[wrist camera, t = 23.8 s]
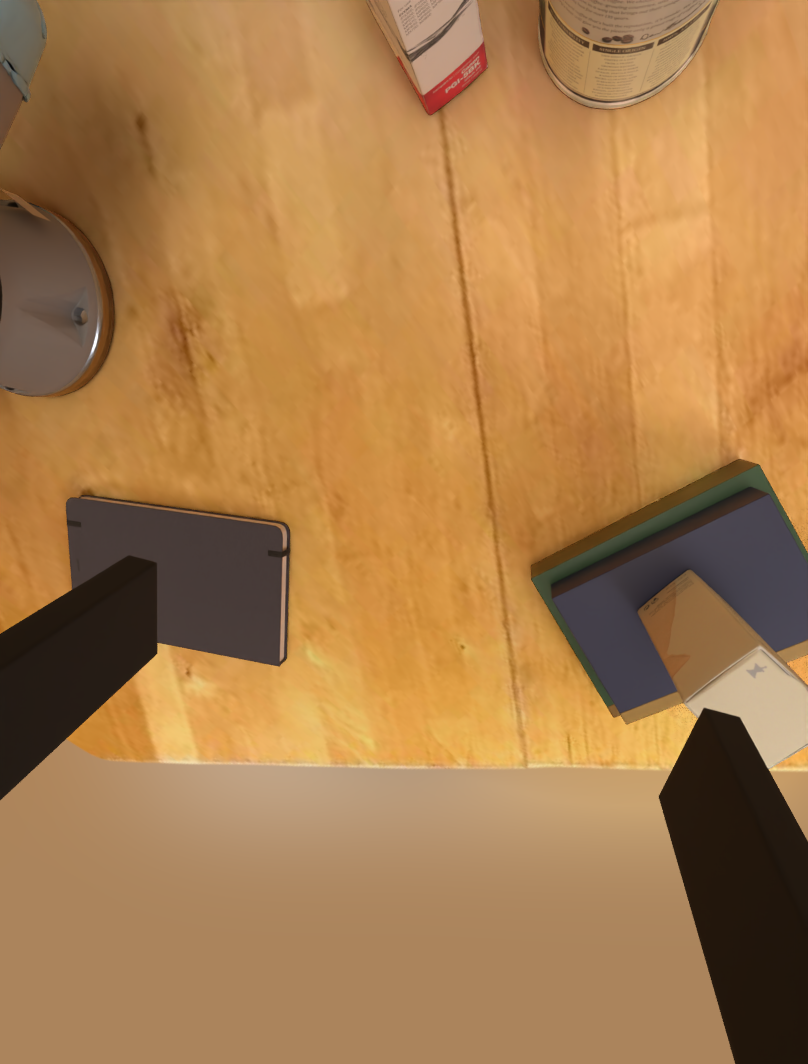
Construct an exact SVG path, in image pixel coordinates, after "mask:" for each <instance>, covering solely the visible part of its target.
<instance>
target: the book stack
mask: <svg viewBox="0 0 808 1064" xmlns="http://www.w3.org/2000/svg"><path fill="white" fill-rule="evenodd" d="M687 570H692V571H693V572H694V573H695V574H696V575H697V576H698V577H700V578H701V579H702V580H703V581H704V582H705V583H706V584H707V585H708V586H710V587H711V588H712V589H713V590H714V591H715V592H716V593H717V594H718V595H719V596H720V597H721V598H722V599H724V600H725V601H726V602H727V603H728V604H729V605H730V606H731V607H732V608H733V609H734V610H735V611H736V612H737V613H738V614H739V615H740V616H741V617H742V618H743V619H744V620H745V621H746V622H747V623H748V624H749V625H750V626H751V627H752V629H753V630H754V631H755V632H756V633H757V634H758V635H759V636H760V637H761V638H762V639H763V640H764V641H765V642H766V643H767V644H768V645H769V646H770V647H771V648H772V649H773V650H774V651H775V652H776V653H777V654H778V655H779V656H780V657H781V658H782V659H783V660H784V661H785V662H786V663H787V662H790V661H793V660H795V659H798V658H800V657H803V656H806V655H808V553H807V551H806V549H805V547H804V545H803V543H802V542H801V540H800V538H799V536H798V534H797V533H796V531H795V529H794V527H793V525H792V523H791V522H790V520H789V518H788V516H787V514H786V512H785V511H784V509H783V507H782V505H781V503H780V502H779V500H778V498H777V496H776V494H775V492H774V491H773V489H772V487H771V485H770V483H769V481H768V480H767V478H766V476H765V474H764V472H763V471H762V469H761V467H760V465H759V464H755V463H752V462H748V461H745V460H741V459H739V460H737V461H735V462H733V463H731V464H729V465H727V466H725V467H723V468H721V469H719V470H717V471H715V472H713V473H711V474H709V475H707V476H705V477H703V478H701V479H699V480H698V481H696V482H694V483H692V484H690V485H688V486H686V487H684V488H682V489H680V490H678V491H676V492H674V493H672V494H670V495H668V496H666V497H664V498H662V499H660V500H658V501H656V502H654V503H652V504H650V505H649V506H647V507H645V508H643V509H641V510H639V511H637V512H635V513H633V514H631V515H629V516H627V517H625V518H623V519H621V520H619V521H617V522H615V523H613V524H611V525H609V526H607V527H605V528H603V529H601V530H600V531H598V532H596V533H594V534H592V535H590V536H588V537H586V538H584V539H582V540H580V541H578V542H576V543H574V544H572V545H570V546H568V547H566V548H564V549H562V550H560V551H558V552H556V553H554V554H552V555H551V556H549V557H547V558H545V559H543V560H541V561H539V562H537V563H535V564H533V565H531V580H532V582H533V583H534V585H535V587H536V588H537V590H538V592H539V593H540V595H541V597H542V598H543V600H544V602H545V603H546V605H547V607H548V608H549V610H550V612H551V614H552V615H553V617H554V619H555V620H556V622H557V624H558V625H559V627H560V629H561V630H562V632H563V634H564V635H565V637H566V639H567V640H568V642H569V644H570V645H571V647H572V649H573V650H574V652H575V654H576V656H577V657H578V659H579V661H580V662H581V664H582V666H583V667H584V669H585V671H586V672H587V674H588V676H589V677H590V679H591V681H592V682H593V684H594V686H595V687H596V689H597V691H598V692H599V694H600V696H601V697H602V699H603V701H604V703H605V704H606V706H607V708H608V709H609V711H610V713H611V714H612V716H613V717H614V718H615V717H617V716H620V715H621V717H622V718H623V720H624V722H625V723H626V724H629V723H632V722H634V721H637V720H640V719H642V718H645V717H647V716H650V715H653V714H655V713H658V712H660V711H663V710H666V709H668V708H671V707H673V706H676V705H679V704H681V703H683V701H682V699H681V696H680V694H679V693H678V691H677V689H676V687H675V685H674V683H673V681H672V679H671V677H670V675H669V673H668V671H667V669H666V667H665V665H664V663H663V661H662V659H661V657H660V655H659V653H658V651H657V650H656V648H655V646H654V644H653V642H652V640H651V638H650V636H649V634H648V632H647V630H646V628H645V626H644V624H643V623H642V621H641V619H640V617H639V615H638V610H639V609H640V608H641V607H642V606H643V605H645V604H646V603H647V602H648V601H649V600H650V599H652V598H653V597H654V596H655V595H656V594H657V593H659V592H660V591H661V590H662V589H664V588H665V587H666V586H667V585H669V584H670V583H671V582H673V581H674V580H675V579H676V578H678V577H679V576H680V575H682V574H683V573H684V572H686V571H687Z"/></svg>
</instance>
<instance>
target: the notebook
mask: <svg viewBox="0 0 808 1064" xmlns="http://www.w3.org/2000/svg"><path fill="white" fill-rule="evenodd" d="M66 514H67V527H68V540H69V554H70V567H71V580H72V590H73V589H74V588H76V587H77V586H79V585H81V584H82V583H84V582H86V581H87V580H89V579H90V578H92V577H94V576H95V575H97V574H99V573H100V572H102V571H104V570H105V569H107V568H108V567H110V566H112V565H113V564H115V563H117V562H118V561H120V560H121V559H123V558H125V557H126V556H128V555H131V556H134V557H138V558H142V559H146V560H150V561H153V562H157V643H162V644H167V645H172V646H178V647H183V648H188V649H193V650H198V651H203V652H208V653H213V654H218V655H224V656H229V657H234V658H239V659H244V660H249V661H254V662H259V663H264V664H269V665H275V666H280V665H281V664H282V663H283V662H284V661H285V660H286V658H287V623H288V587H289V553H290V530H289V528H288V526H287V525H286V524H285V523H282V522H278V521H271V520H264V519H256V518H249V517H242V516H235V515H227V514H220V513H213V512H205V511H198V510H191V509H184V508H176V507H169V506H162V505H155V504H147V503H140V502H133V501H125V500H118V499H111V498H104V497H96V496H89V495H82V496H81V497H79V498H70V499H68V500H67V502H66Z"/></svg>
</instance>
